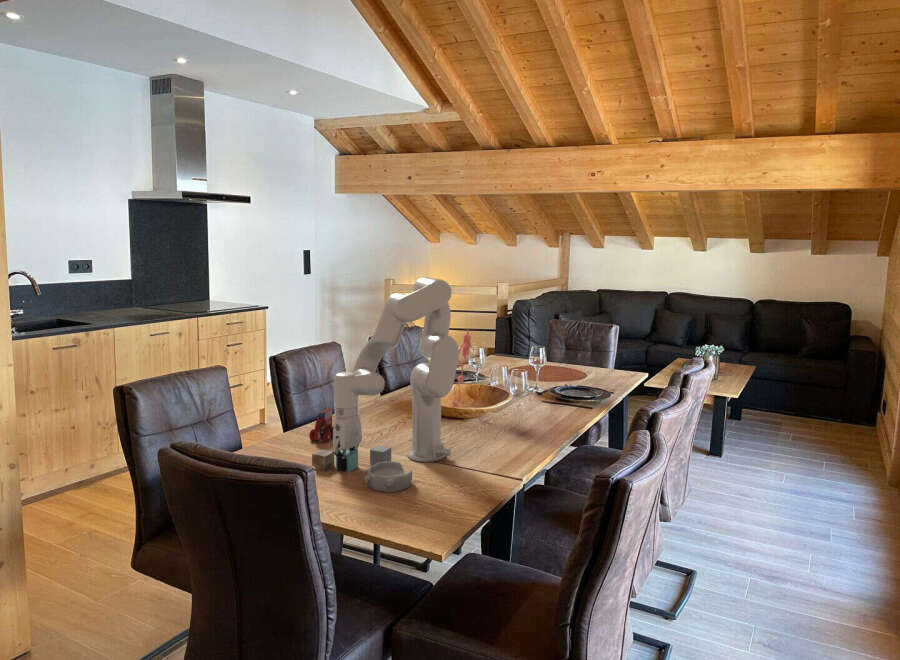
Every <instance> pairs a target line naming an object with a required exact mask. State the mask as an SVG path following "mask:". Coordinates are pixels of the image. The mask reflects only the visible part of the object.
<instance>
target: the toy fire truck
mask: <svg viewBox="0 0 900 660" xmlns="http://www.w3.org/2000/svg"><path fill="white" fill-rule="evenodd" d="M333 409H334V408H332V407H329V408H326V409H325V410H323V411H322V412H320V413H318V416H317V417H318V418H317V419H316V422H315V425H314V428H312V429H311V430H310V432H309V440H310V441H313V440H315V441H320V440H322V441H324V442H325V443H328V442H330V441H331V439H333V427H334V426H333V415H334V414H333V413H334V410H333Z"/></svg>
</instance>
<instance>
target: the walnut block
mask: <svg viewBox="0 0 900 660" xmlns="http://www.w3.org/2000/svg"><path fill="white" fill-rule="evenodd" d="M312 466H314V467H315V468H316V471H321V472H327V471H329V470H331V469H333V468H335V454H334V453H333V452H332V450H327V449H319V450H317V451H315V452H313V453H311V467H312ZM317 469H318V470H317Z"/></svg>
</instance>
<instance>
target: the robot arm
mask: <svg viewBox="0 0 900 660" xmlns="http://www.w3.org/2000/svg"><path fill="white" fill-rule="evenodd" d="M452 295H453V294H452V288H451V285H450V284H449V283H448V281H445V280H444V279H440V278H435V277H429V276H427V277H425V276H424V277H420V278H418V279H417V280H416V281H415V283H414V285H413V292H410V293H408V294H407V293H401V292H397V293H396V292H395V293H393V294H391V295H390V296H388V298H387V300H386V301H385V304H384V306H383V308H382V311H381V314H380V317H379V318H378V320H377V321H378V322H377V324H376V326H375V329H374V332H373V334H372V336H371V337H370V338H369V340H368V341H367V342H366V344H365V346H364V347H363V348H362V349H361V351H360V353H359V355H358V356H357V359H356V362H355V363H354V366H353V369H352V371H342V372H338V373H335V375H334V377H333V394H334V395H333V400H334V401H333V403H334V404H333V405H334V408H333V409H334V410H333V413H334V414H333V415H334V420H333V421H334V422H333V426H332V427H333V438H332V445H333V447H332V450H331V451H332V452H333V453H334V456H335V459H336V458H337V469H338V471H343V472H347V471H346V470H347V458H345V456H346V450H350V451H356V452H358V453H359V449H358V448H359V445H360V444H361V443H362V442H363V436H362V435H363V433H362V432H363V430H362V422H361V421H362V420H361V417H360V416H361V415H360V411H359V408H360V407H359V396H369V397H371V396H373V397H374V396H377V395H379V394H381V393H382V392H383V391H384V389H385V384H386V381H385V379H384V377H383V376H382V375H381V374H379V372H376V370H377V368H378V366H379V363H380V362H381V360H382V358H383V357H384V356H385V355H386V354H387V353H389V352H390V351H392V350H393V349H396V347H397V346H398V345H399V343H400V341H401V338H402V335H403V333H404V329H405V327H406V325H407V323H412V322H416V321H417V320H420V319H422V318H424V320H423V321H424V323H423V327H422V328H423V329H422V332H421V337H420V343H419V352H420V355H422V357H424V359H427V360H429V363H428V362H421V363H419V364H417V365H416V366H414V367H413V369H412V370H411V373H410V379H409V380H410V381H409V383H410V389H411V399H412V412H411V413H412V417H411V418H412V420H411V421H412V424H411V427H412V428H411V429H412V432H411V433H412V435H411V436H412V438H411V440H412V441H411V442H412V443H411V444H412V449H410V450H409V451H408V452H407V458H408V459H410V460H412V461H415V462H423V463H430V462H438V461H440V460H443V459H445V457H446V456H447V457H450V456H451V454H452V449H451V448H450V447H445V446H444V442H441V440H442V439H441V438H442V436H441V435H442V434H441V433H442V432H441V430H442V399H441V398H445V397H446V396H447V395H449V394H450V392H451V390H452V388H453V386H454V382H455V379H456V378H455V377H456V372H457V366H458V360H459V356H460V354H459V350H460V348H459V345H458V341H456V339H454V338H453V336H451V335H450V334H449V333H450V325H451V316H452V315H451V308H450V307H451V306H450V303H449V301H450V300H451V298H452ZM341 451H343V453H341ZM337 469H336V470H337Z"/></svg>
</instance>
